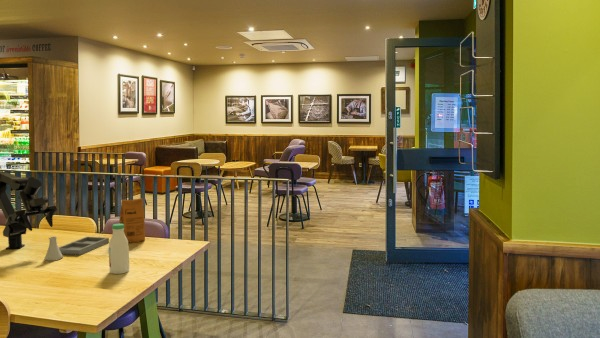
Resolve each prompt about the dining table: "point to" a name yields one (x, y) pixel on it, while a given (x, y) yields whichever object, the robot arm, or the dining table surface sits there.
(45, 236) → the dining table surface
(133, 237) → the coffee package
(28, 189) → the robot arm
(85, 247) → the caddy tray
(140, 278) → the dining table surface
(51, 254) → the flask
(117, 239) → the milk bottle
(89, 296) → the dining table surface
